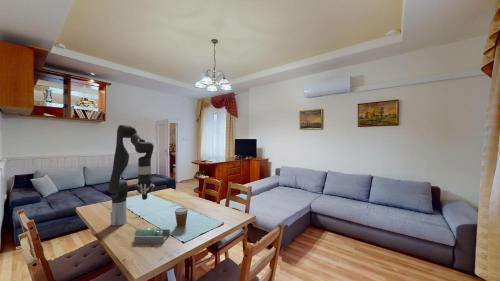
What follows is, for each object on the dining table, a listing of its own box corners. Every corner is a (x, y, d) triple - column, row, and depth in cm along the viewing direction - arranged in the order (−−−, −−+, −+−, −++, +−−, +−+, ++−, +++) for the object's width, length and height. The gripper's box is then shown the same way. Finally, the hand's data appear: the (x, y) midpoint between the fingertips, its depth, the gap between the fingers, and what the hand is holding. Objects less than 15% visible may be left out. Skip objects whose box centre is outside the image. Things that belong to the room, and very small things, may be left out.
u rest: (134, 242, 124) (134, 236, 123) (143, 234, 134) (143, 228, 134) (163, 243, 123) (162, 237, 123) (169, 234, 134) (169, 229, 134)
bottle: (135, 229, 128) (160, 229, 128) (140, 227, 133) (164, 228, 133) (134, 237, 126) (159, 238, 126) (138, 236, 131) (163, 236, 131)
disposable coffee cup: (176, 222, 152) (176, 207, 151) (189, 222, 153) (189, 207, 152) (172, 228, 142) (172, 212, 142) (186, 228, 143) (186, 212, 143)
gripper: (130, 173, 123) (131, 201, 124) (151, 174, 123) (151, 201, 124) (137, 171, 131) (137, 197, 131) (157, 171, 131) (157, 197, 131)
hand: (144, 199), depth 128 cm, fingers closed
